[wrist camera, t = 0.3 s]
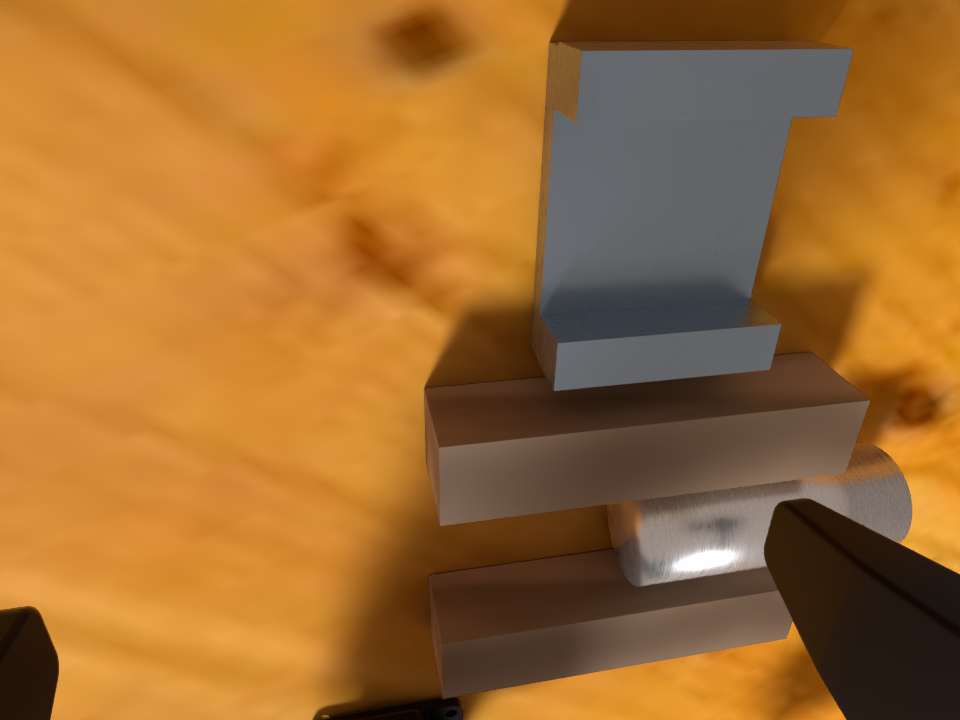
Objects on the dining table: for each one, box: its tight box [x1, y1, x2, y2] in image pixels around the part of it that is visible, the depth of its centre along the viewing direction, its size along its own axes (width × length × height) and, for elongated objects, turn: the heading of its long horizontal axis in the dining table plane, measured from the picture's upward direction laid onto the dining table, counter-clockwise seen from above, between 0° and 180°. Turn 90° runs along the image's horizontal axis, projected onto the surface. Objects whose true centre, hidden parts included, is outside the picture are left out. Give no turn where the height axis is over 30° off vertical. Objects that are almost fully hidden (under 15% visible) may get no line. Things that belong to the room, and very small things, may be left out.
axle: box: [607, 443, 912, 587], centre depth 26 cm, size 10×4×4 cm, turn 89°
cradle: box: [531, 41, 854, 391], centre depth 20 cm, size 9×7×3 cm
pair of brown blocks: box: [424, 352, 871, 699], centre depth 26 cm, size 12×14×3 cm
